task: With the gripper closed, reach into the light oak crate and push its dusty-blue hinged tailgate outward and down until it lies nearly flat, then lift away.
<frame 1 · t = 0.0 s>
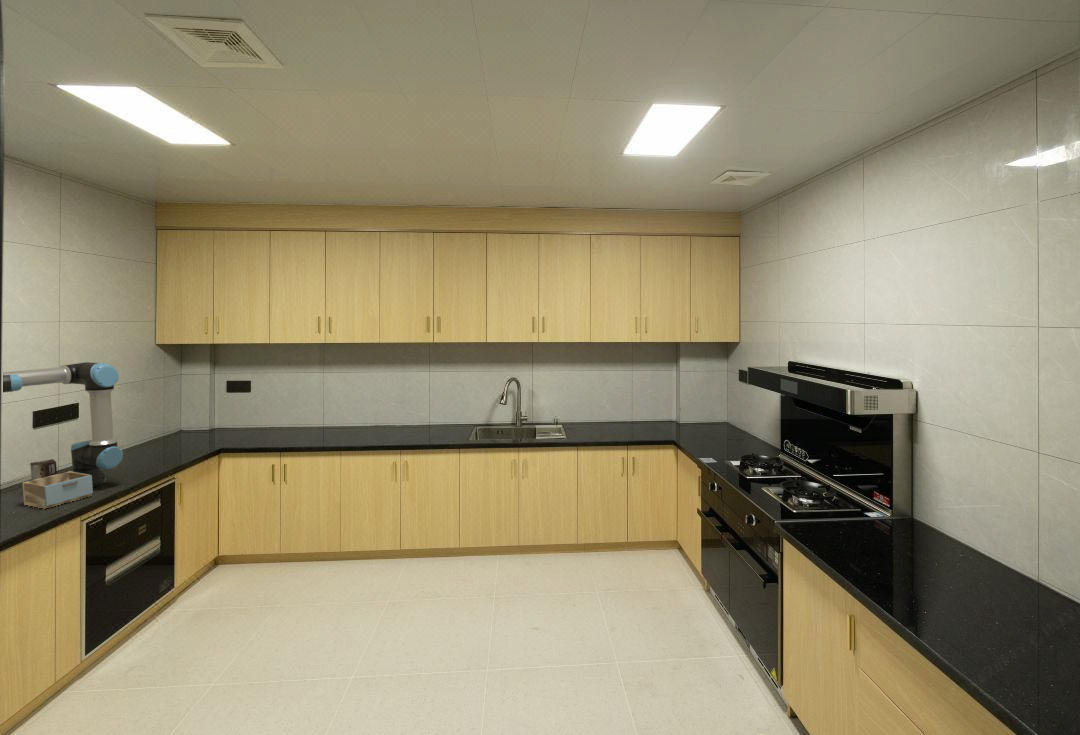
tailgate: (69, 490, 272), point 6 cm above the countertop, hinge at 0.0°
crate: (59, 500, 275), on the countertop
coffee box: (45, 493, 285), on the countertop
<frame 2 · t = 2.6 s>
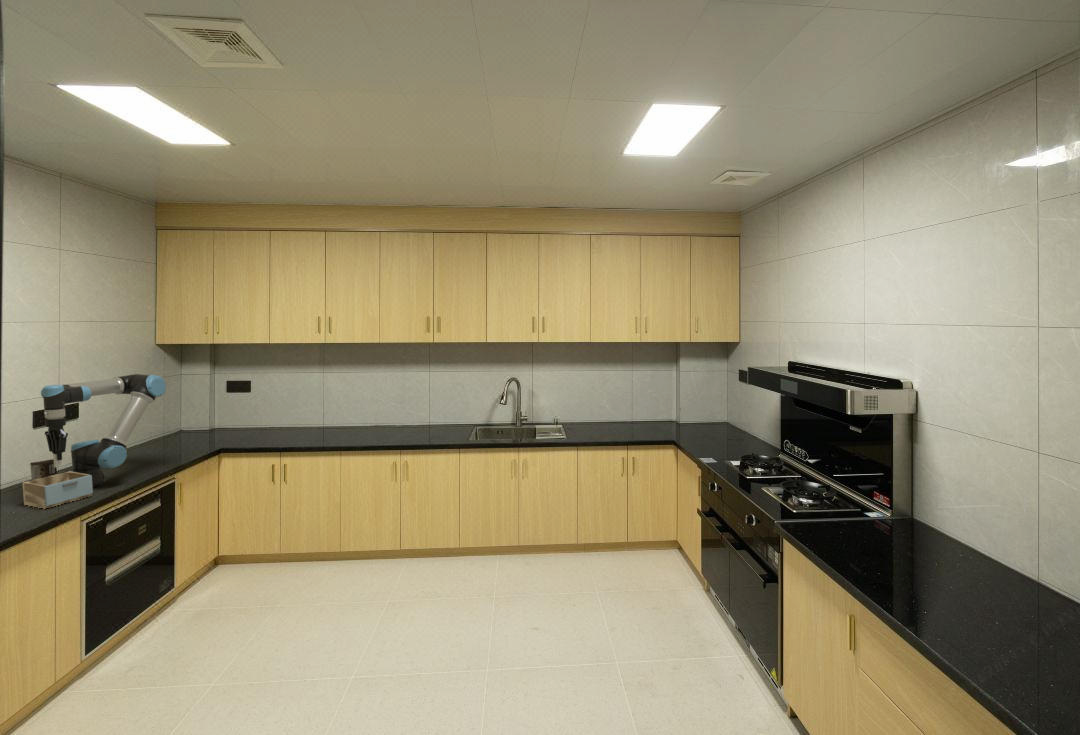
hand: (58, 466, 272), 17 cm above the countertop, tool pointing down, fingers closed
nothing on the countertop moved.
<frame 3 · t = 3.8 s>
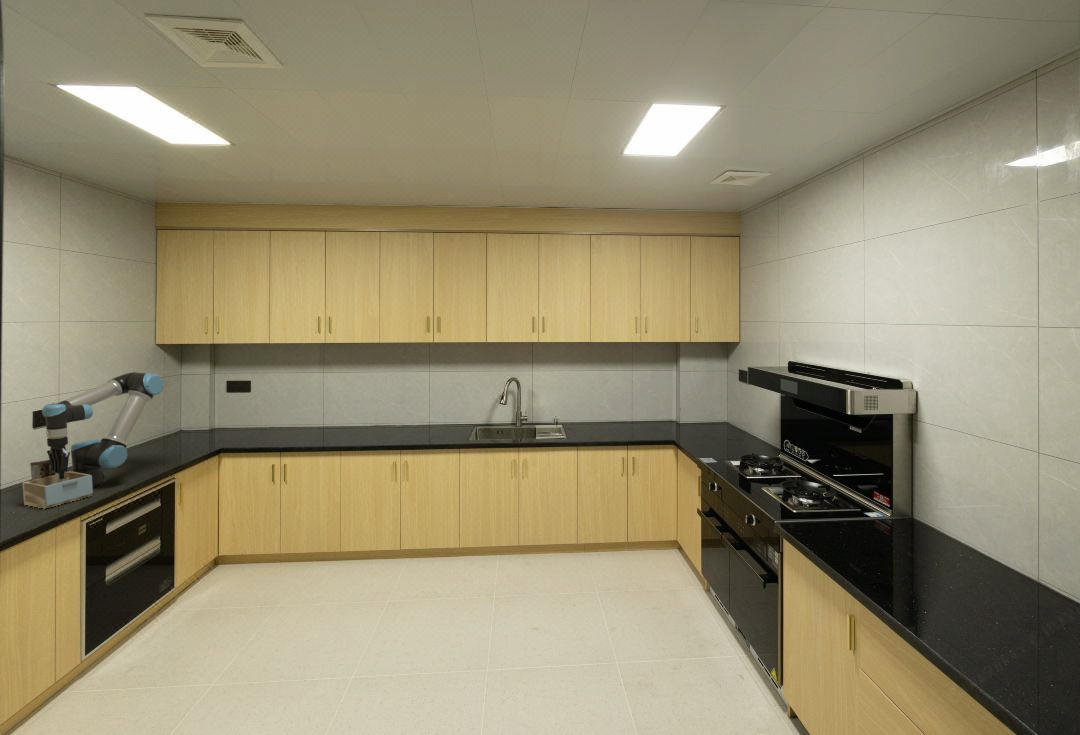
hand: (60, 485, 273), 8 cm above the countertop, tool pointing down, fingers closed
nothing on the countertop moved.
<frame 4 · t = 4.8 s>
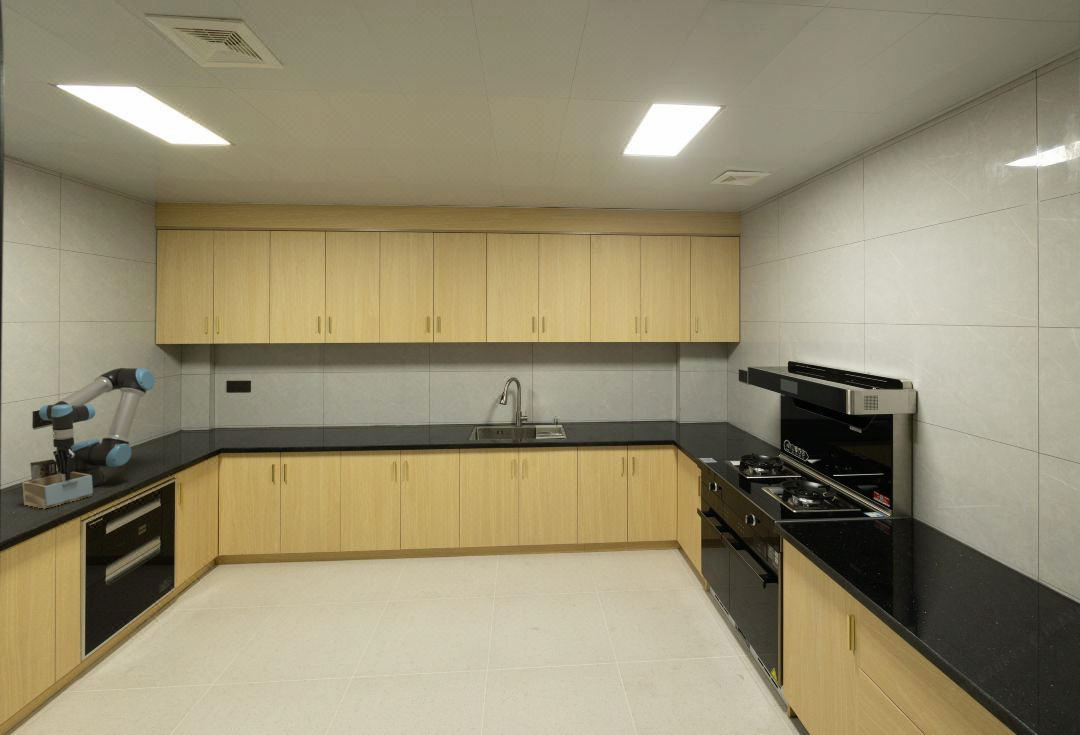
hand: (66, 486, 272), 8 cm above the countertop, tool pointing down, fingers closed
tailgate: (69, 490, 272), point 7 cm above the countertop, hinge at 0.0°, touching gripper
everything else where it was.
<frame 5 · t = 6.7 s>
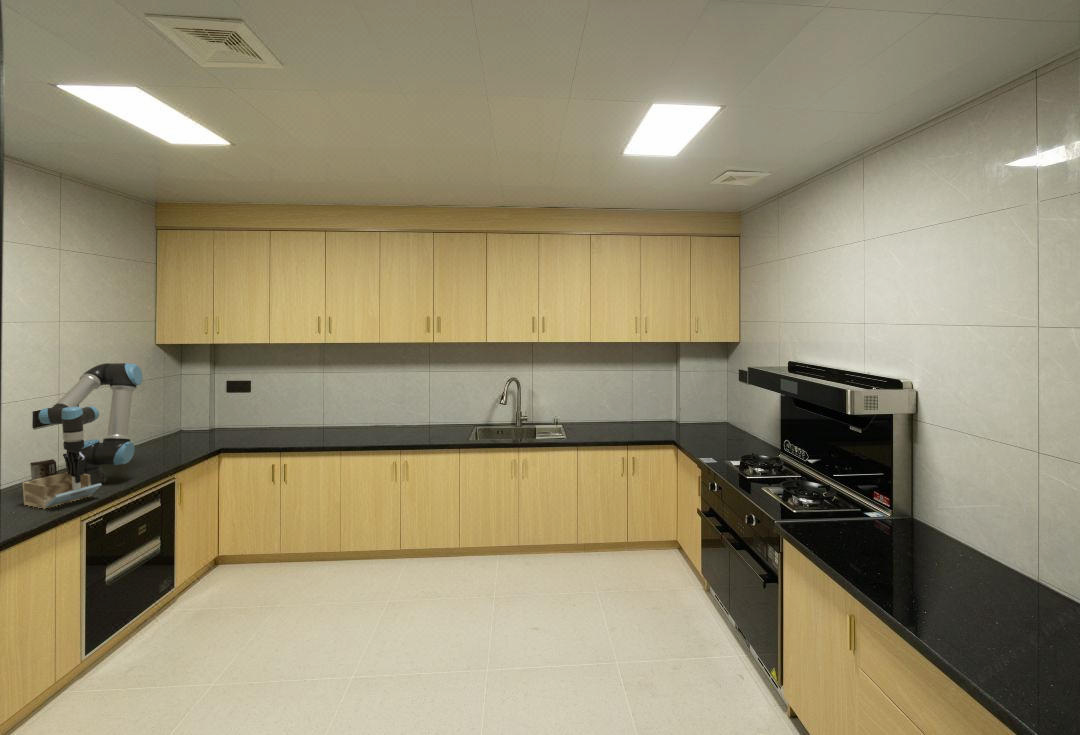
hand: (76, 489, 270), 8 cm above the countertop, tool pointing down, fingers closed
tailgate: (75, 495, 271), point 4 cm above the countertop, hinge at 52.9°, touching gripper
everything else where it was.
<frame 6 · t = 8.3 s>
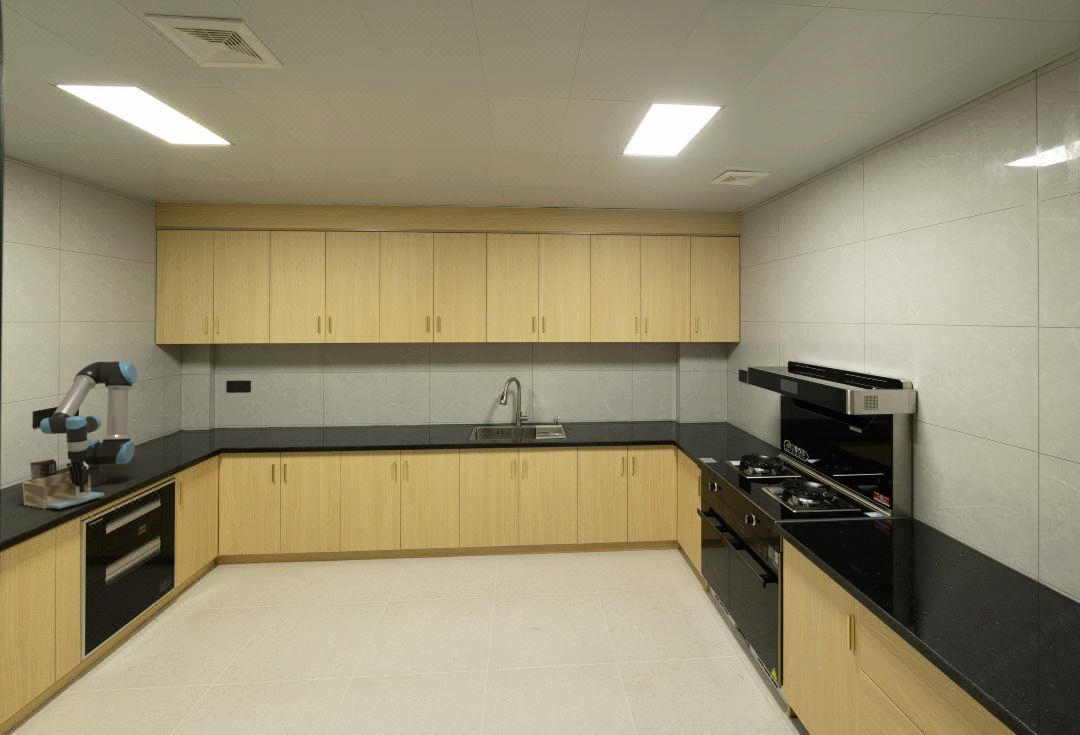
hand: (80, 498, 269), 3 cm above the countertop, tool pointing down, fingers closed
tailgate: (76, 500, 271), point 2 cm above the countertop, hinge at 87.0°, touching gripper
everything else where it was.
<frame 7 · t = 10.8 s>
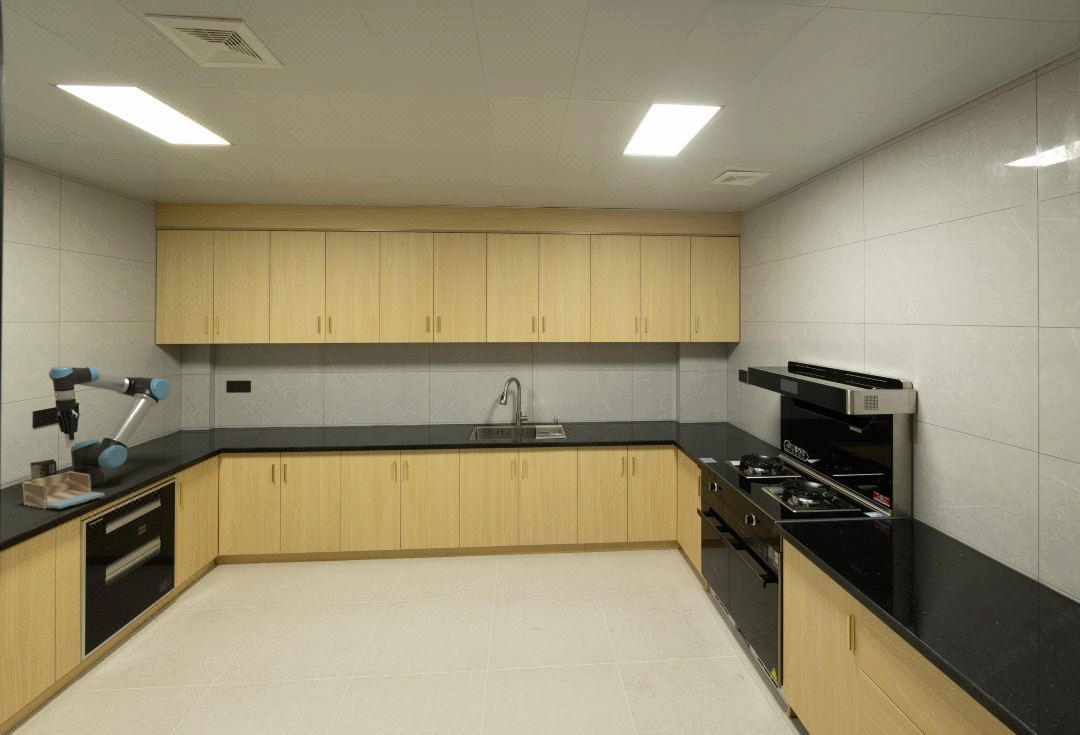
hand: (70, 446, 277), 26 cm above the countertop, tool pointing down, fingers closed
tailgate: (76, 500, 271), point 2 cm above the countertop, hinge at 87.0°
everything else where it was.
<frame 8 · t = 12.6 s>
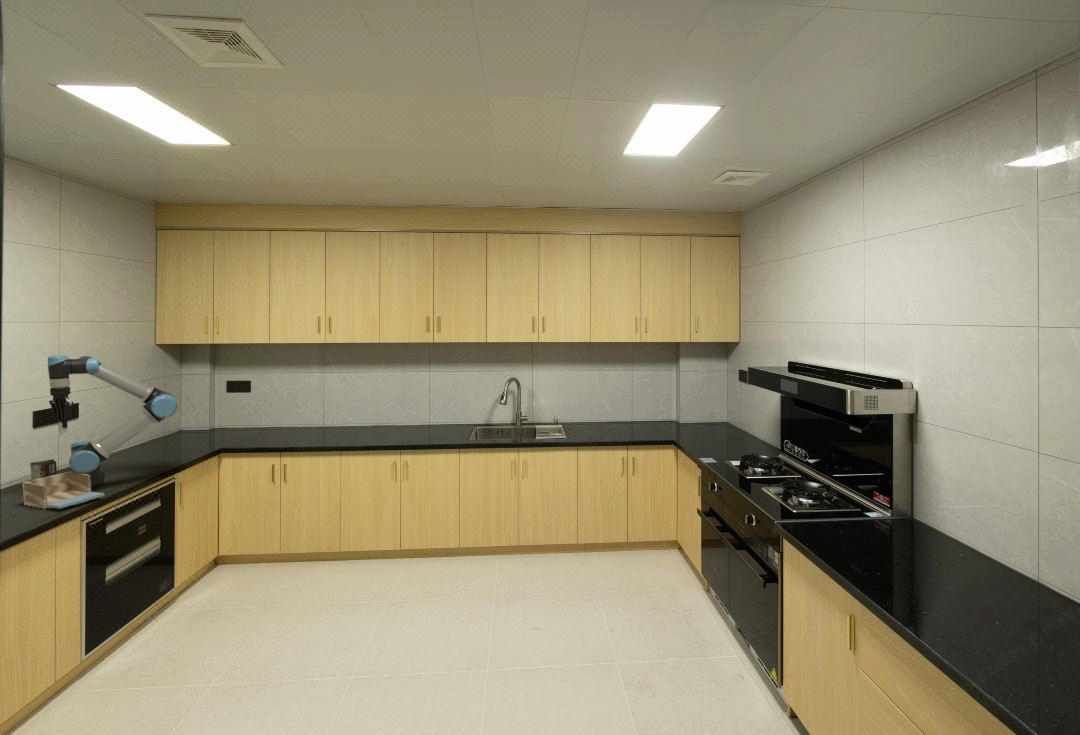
hand: (63, 434, 282), 30 cm above the countertop, tool pointing down, fingers closed
nothing on the countertop moved.
at the end: tailgate at +87° (first picture: +0°); coffee box moved 0.2 cm from its start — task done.
